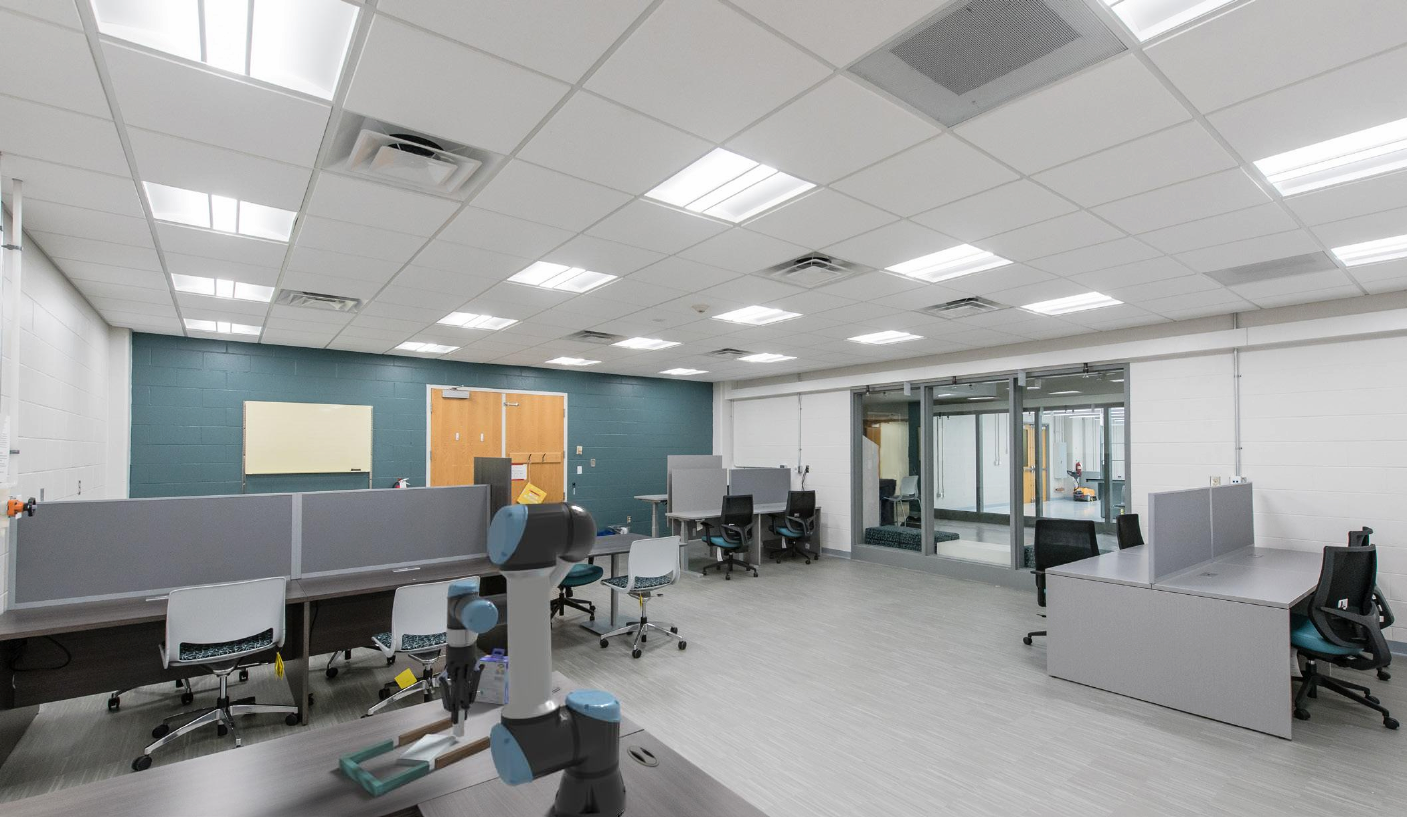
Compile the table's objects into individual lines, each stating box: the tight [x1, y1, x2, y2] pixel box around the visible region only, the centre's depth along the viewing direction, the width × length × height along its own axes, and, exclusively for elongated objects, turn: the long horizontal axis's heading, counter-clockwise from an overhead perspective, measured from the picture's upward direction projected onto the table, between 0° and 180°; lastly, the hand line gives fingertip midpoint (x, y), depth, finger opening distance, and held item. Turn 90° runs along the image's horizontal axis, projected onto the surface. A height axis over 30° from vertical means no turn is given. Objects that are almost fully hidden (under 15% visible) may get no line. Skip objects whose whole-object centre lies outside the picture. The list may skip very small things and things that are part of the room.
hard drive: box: [396, 734, 457, 766], centre depth 152 cm, size 2×8×12 cm
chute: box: [338, 716, 491, 798], centre depth 149 cm, size 19×28×2 cm
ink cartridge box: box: [475, 648, 509, 705], centre depth 182 cm, size 10×6×14 cm, turn 78°
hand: (458, 734), depth 158 cm, fingers closed
